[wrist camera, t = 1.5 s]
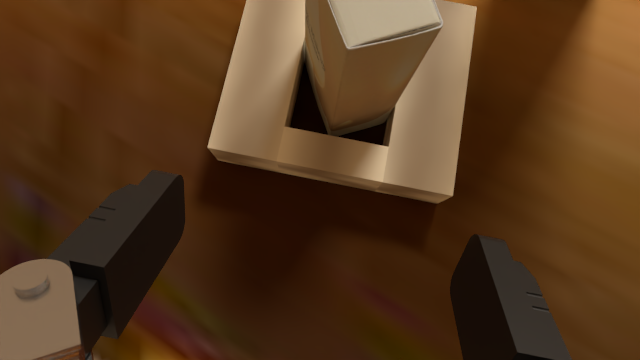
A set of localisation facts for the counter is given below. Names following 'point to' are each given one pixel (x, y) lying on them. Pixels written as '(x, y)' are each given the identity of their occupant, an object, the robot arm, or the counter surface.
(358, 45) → the skincare box
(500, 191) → the counter surface
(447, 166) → the beige flat frame
